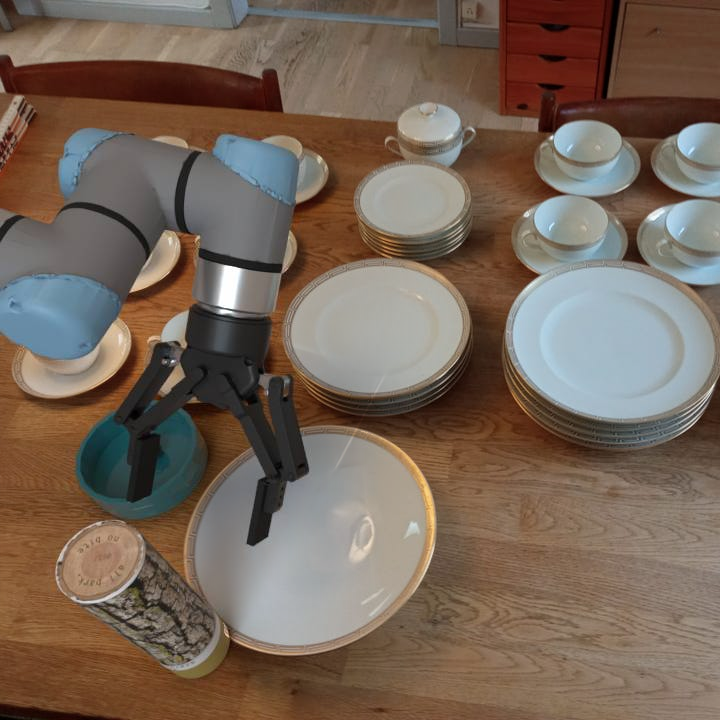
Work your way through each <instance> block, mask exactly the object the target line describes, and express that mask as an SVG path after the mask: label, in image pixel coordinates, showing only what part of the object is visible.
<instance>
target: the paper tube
mask: <svg viewBox="0 0 720 720" xmlns="http://www.w3.org/2000/svg"><path fill="white" fill-rule="evenodd" d="M55 565H56V566H55V573H54V574H55V582H56V584H57V586H58V588H59V589H60V591H61V593H63V594H64V596H66V597H67V598H68V599H70V600H71V601H73V602H74V604H77V605H78V606H80V607H81V608H82V609H84V610H85V611H86V612H88V613H89V614H90V615H92V616H93V617H95V618H96V619H97V620H99V621H101V622H102V623H103V624H105V626H107V627H108V628H110V629H111V630H113V631H114V632H115V633H117V634H118V635H120V636H121V637H123V638H124V639H125V640H127V641H128V642H129V643H131V644H132V645H134V646H135V647H136V648H138V649H139V650H141V651H142V652H143V653H145V654H146V655H148V657H150V658H151V659H153V660H154V661H156V662H157V663H158V664H160V665H161V666H163V667H164V668H166V669H168V670H169V671H171V673H173V674H174V675H176V676H177V677H180V678H183V679H188V680H192V679H193V680H194V679H198V678H202V677H204V676H207V675H208V674H210V673H212V672H213V671H214V670H216V669H217V668H218V667H220V665H221V664H222V662H223V661H224V659H225V658H226V656H227V654H228V653H229V650H230V649H229V648H230V642H231V638H230V639H229V638H228V637H227V636H226V635H225V633H224V624H223V621H224V620H223V619H222V617H220V616H219V614H218V613H217V612H216V611H215V610H214V609H213V608H212V607H211V606H210V605H209V604H208V603H207V601H206V600H205V599H204V598H203V597H202V596H201V595H200V594H199V593H198V592H197V591H196V590H195V589H194V588H193V586H191V584H189V582H187V581H186V579H185V578H184V577H183V576H182V575H181V574H180V573H179V572H178V571H177V570H176V569H175V568H174V567H173V566H172V565H171V564H170V563H169V561H168V560H167V559H165V557H163V555H162V554H161V553H160V552H159V551H158V550H157V549H156V548H155V547H154V546H153V545H152V543H150V542H149V540H148V539H147V538H146V537H145V536H144V535H143V534H142V533H141V532H140V531H139V530H138V529H137V528H135V526H134V525H132V524H130V523H128V522H126V521H122V520H118V519H109V520H107V519H106V520H101V521H98V522H94V523H92V524H90V525H88V526H86V527H84V528H83V529H81V530H79V531H78V532H77V533H76V534H75V535H73V537H72V538H70V540H68V542H66V543H65V546H63V548H62V550H61V552H60V554H59V556H58V559H57V561H56V564H55ZM221 619H222V620H223V621H222V620H221Z"/></svg>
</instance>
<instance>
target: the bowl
mask: <svg viewBox="0 0 720 720" xmlns="http://www.w3.org/2000/svg"><path fill="white" fill-rule="evenodd" d="M158 401H159V400H152V402H151V403H150V405H149V406H148V408H147V409H146V410H145V412H146V411H147V410H149V409H150V408H151V407H152V406H153V405H155V404H156V403H157V402H158ZM118 409H119V408H118ZM118 409H117V408H116V409H115V410H113V411H112V412H110V413H108V414H107V415H105V416H104V417H103V418H102V419H101V420H99V421H98V422H97V423H95V424H94V425H93V426H92V428H91V429H90V430H89V431H88V433H87V434H86V435H85V437H84V438H83V439H82V440H81V443H80V444H79V445H80V446H79V448H78V450H77V453H76V455H75V469H74V472H75V473H74V474H75V476H76V479H77V481H78V483H79V486H80V488H81V489H82V490H83V491H84V492H85V493H86V494H87V495H88V496H89V497H90V498H91V499H92V500H93V501H94V502H95V503H97V505H98V506H100V508H101V509H103V510H104V511H105V512H107V513H108V514H110V515H112V516H114V517H117V518H120V519H125V520H144V519H149V518H153V517H156V516H159V515H162V514H164V513H167V512H168V511H171V510H172V509H174V508H175V507H177V506H178V505H180V504H182V503H183V502H184V501H185V500H186V499H187V498H188V497H189V496H190V495H192V493H193V492H194V491H195V490H196V488H197V487H198V485H199V484H200V482H201V480H202V479H203V477H204V475H205V472H206V469H207V465H208V459H209V452H208V451H209V450H208V446H207V442H206V440H205V437H204V436H203V435H202V433H201V431H200V429H199V427H198V426H197V424H196V423H195V421H194V419H193V418H192V416H191V415H190V413H188V412H187V411H185V409H183V408H182V407H181V408H180V409H179V410H178V411H176V412H175V413H174V414H173V415H171V416H170V417H169V418H168V419H167V420H165V421H164V422H163V423H162V424H160V425H159V426H158V427H157V428H158V429H157V430H154V431H151V434H153V433H156V434H159V435H161V438H160V445H161V448H162V451H161V455H160V456H159V458H158V459H157V463H156V469H155V475H154V481H153V488H152V494H151V496H148V497H146V498H144V499H141V500H139V501H136V502H134V503H131V502H128V501H126V498H127V492H128V485H129V479H130V472H131V466H130V465H128V464H127V454H128V446H129V440H130V434H129V433H128V429H127V428H125V427H124V426H123V425H122V424H121V425H117V424H116V423H115V422H114V420H113V417H114V415H115V413H116V412H117V410H118ZM145 412H144V413H145ZM144 413H143V414H144Z"/></svg>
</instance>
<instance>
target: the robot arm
mask: <svg viewBox="0 0 720 720" xmlns="http://www.w3.org/2000/svg"><path fill="white" fill-rule="evenodd" d="M299 172H300V160H299V158H298V156H297V155H296V153H295V152H293V151H292V150H291V149H288V148H286V147H283V146H280V145H276V144H273V143H269V142H266V141H262V140H258V139H255V138H254V139H253V138H250V137H246V136H245V137H244V136H239V135H235V134H229V133H222V134H220V135H219V136H218V137H217V139H216V141H215V146H214V147H213V148H212V152H211V151H206V150H205V151H200V150H197V149H192V148H188V147H183V146H179V145H175V144H171V143H167V142H162V141H159V140H155V139H150V138H147V137H143V136H139V135H137V134H135V133H132V132H129V131H125V132H120V131H115V130H110V129H109V130H108V129H102V128H97V127H86V128H81V129H79V130H77V131H75V132H74V133H73V134H71V136H70V137H69V138H68V139H67V141H66V143H65V144H64V146H63V156H62V157H61V158H60V159H59V161H58V168H57V177H58V178H57V179H58V181H57V182H58V186H59V190H60V192H61V195H62V196H63V198H64V200H65V203H64V204H63V206H62V207H61V208H60V210H59V211H58V212H57V214H56V216H55V217H54V219H53V220H52V221H51V222H50V223H48V222H44V221H41V220H38V219H35V218H31V217H29V216H28V217H27V216H25V215H22V214H19V213H16V212H13V211H10V210H7V209H4V208H1V207H0V332H1V334H2V335H3V336H4V337H6V338H7V339H9V341H10V342H13V343H14V344H16V345H17V346H23V347H25V348H27V349H28V350H29V351H30V353H32V354H35V355H38V356H40V357H43V358H48V359H53V360H60V361H68V360H69V361H71V360H77V359H81V358H84V357H86V356H88V355H89V354H91V353H92V352H93V351H94V350H96V348H97V346H98V345H99V344H100V343H101V341H102V340H103V338H104V337H105V335H107V332H108V331H109V329H110V328H111V327H112V325H113V324H114V322H115V321H117V320H118V317H119V315H120V314H121V312H122V310H123V305H124V304H125V302H126V300H127V298H128V297H129V294H130V292H131V291H132V289H133V286H134V285H135V283H136V280H137V279H138V277H139V275H140V274H141V272H142V271H143V268H144V267H145V265H146V264H147V262H148V260H149V258H150V257H151V255H152V253H153V251H154V249H155V248H156V246H157V245H158V243H159V242H160V239H161V237H162V236H163V234H164V232H165V231H169V232H174V233H180V234H186V235H191V236H194V235H195V236H199V247H198V252H197V257H196V258H197V259H196V263H195V270H194V275H193V280H192V281H193V282H192V287H191V293H190V297H191V298H192V299H193V301H195V302H196V303H193V304H192V305H191V306H189V308H188V314H187V320H186V326H185V333H184V342H185V343H186V346H185V347H183V346H182V345H181V343H180V341H178V340H170V341H169V340H168V341H161V342H156V343H155V344H154V346H153V349H152V353H151V357H150V361H149V363H148V365H147V367H146V368H145V370H144V371H143V372H142V373H141V375H140V377H139V378H138V379H137V381H136V382H135V383H134V385H133V387H132V388H131V389H130V391H129V392H128V394H127V396H126V397H125V398H124V400H123V402H122V403H121V405H120V406H119V407H118V410H117V409H116V410H117V412H116V413H115V415H114V417H113V420H114V422H115V423H116V424H117V425H121V424H122V425H123V426H124V427H125V428H127V429H128V433H129V434H130V440H129V446H128V454H127V464H128V465H130V466H131V472H130V479H129V485H128V492H127V498H126V501H128V502H131V503H134V502H136V501H139V500H141V499H144V498H146V497H148V496H151V494H152V488H153V481H154V475H155V469H156V463H157V456H158V450H159V444H160V438H161V435H159V434H156V433H153V434H151V431H154V430H157V429H158V428H157V427H158V426H159V425H160V424H162V423H163V422H164V421H165V420H167V419H168V418H169V417H170V416H171V415H173V414H174V413H175V412H176V411H178V410H179V409H180V408H182V407H184V406H185V405H186V404H187V403H189V402H190V401H191V400H192V399H194V398H196V401H197V402H200V403H203V404H212V405H213V406H214V407H216V408H218V409H221V410H225V411H226V410H228V409H229V410H230V412H231V414H232V416H233V418H234V419H236V420H238V421H239V423H240V425H241V427H242V429H243V431H244V434H245V436H246V438H247V440H248V442H249V444H250V446H251V448H252V450H253V452H254V454H255V457H256V459H257V461H258V462H259V465H260V467H261V470H262V471H263V474H264V476H263V477H261V478H259V479H257V483H256V488H255V494H254V499H253V506H252V510H251V516H250V520H249V521H250V522H249V526H248V531H247V532H248V533H247V538H246V543H245V544H246V545H248V546H250V547H254V546H256V545H258V544H260V543H261V542H263V541H265V540H267V538H269V536H270V531H271V525H272V520H273V515H274V514H276V513H277V512H279V511H280V510H281V509H282V507H283V506H284V500H285V496H286V495H285V494H286V489H287V485H288V482H289V483H294V482H297V481H298V480H300V479H302V478H304V477H306V476H307V475H309V473H310V465H309V461H308V458H307V454H306V450H305V446H304V442H303V441H304V440H303V437H302V433H301V428H300V425H299V421H298V416H297V412H296V408H295V403H294V399H293V395H294V383H295V380H294V377H293V375H292V374H289V373H285V374H281V375H280V374H279V375H278V374H272V373H267V372H266V369H265V359H266V357H267V354H268V351H269V346H270V342H271V336H272V332H273V331H272V330H273V326H274V321H273V320H272V318H271V317H270V315H269V314H272V313H274V312H275V311H276V306H277V301H278V295H279V291H280V286H281V285H280V284H281V280H282V275H283V268H284V262H285V256H286V251H287V247H288V241H289V236H290V231H291V225H292V221H293V216H294V212H295V207H296V206H297V200H296V197H297V190H298V189H297V188H298V179H299ZM179 365H180V367H181V369H182V371H183V374H184V377H183V378H182V379H180V381H178V382H177V383H176V384H174V385H173V386H172V387H171V388H170V391H169V392H168V393H166V394H165V395H164V396H163V397H161V399H159V400H157V401H158V402H157V403H156V404H155V405H153V406H152V407H151V408H150V409H149V410H147V411H146V412H145V410H146V409H147V408H148V406H149V405H150V403H151V402H152V401H154V399H155V397H156V396H157V395H158V393H159V392H160V390H161V389H162V388H163V386H164V385H165V383H166V382H167V381H168V379H169V378H170V376H171V375H172V373H173V372H174V370H175V368H176V367H177V366H179ZM261 387H262V388H263V396H265V397H267V406H268V412H269V415H270V420H271V424H272V426H271V424H270V422H269V420H268V417H267V416H266V414H265V412H264V403H263V401H262V399H261V396H260V394H259V393H258V390H259V389H260V388H261ZM245 402H246V403H247V405H246V404H245ZM144 412H145V413H144ZM143 413H144V414H143Z"/></svg>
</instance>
